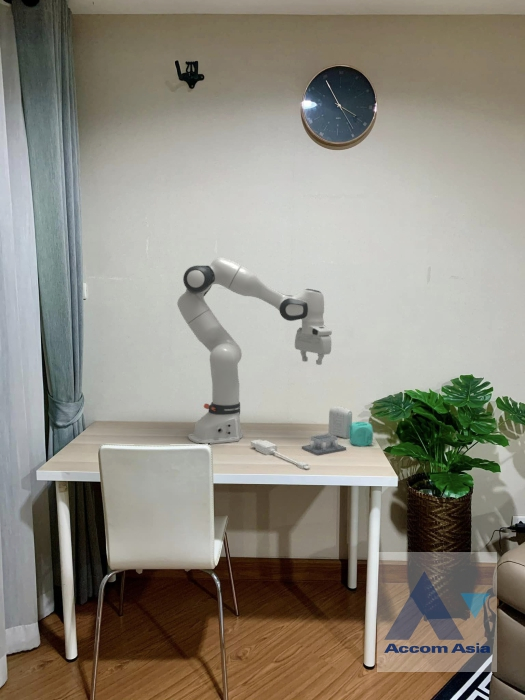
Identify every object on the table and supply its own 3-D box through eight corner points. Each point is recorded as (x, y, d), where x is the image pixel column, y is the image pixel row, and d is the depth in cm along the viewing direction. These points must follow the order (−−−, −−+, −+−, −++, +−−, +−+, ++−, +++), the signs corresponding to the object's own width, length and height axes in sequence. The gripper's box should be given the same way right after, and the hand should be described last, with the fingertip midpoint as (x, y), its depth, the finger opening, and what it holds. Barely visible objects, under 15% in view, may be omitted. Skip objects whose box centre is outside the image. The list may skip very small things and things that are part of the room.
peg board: (317, 455, 228) (317, 445, 227) (301, 448, 236) (301, 438, 235) (346, 450, 235) (346, 439, 234) (329, 443, 243) (330, 433, 243)
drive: (318, 450, 231) (318, 439, 230) (310, 446, 235) (310, 436, 235) (336, 446, 236) (337, 436, 235) (328, 443, 240) (328, 433, 239)
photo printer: (352, 437, 253) (354, 408, 252) (346, 439, 250) (347, 409, 248) (332, 432, 260) (333, 404, 259) (326, 434, 257) (327, 405, 255)
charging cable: (302, 474, 210) (302, 465, 209) (249, 447, 236) (249, 439, 235) (313, 471, 213) (314, 462, 212) (260, 445, 239) (260, 437, 238)
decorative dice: (352, 446, 240) (353, 426, 239) (349, 440, 248) (349, 421, 247) (372, 446, 240) (373, 426, 239) (368, 440, 248) (369, 421, 247)
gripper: (291, 327, 254) (290, 360, 256) (321, 331, 237) (320, 366, 239) (303, 326, 257) (302, 359, 259) (334, 331, 240) (333, 365, 242)
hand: (311, 362), depth 249 cm, fingers open, 8 cm apart
